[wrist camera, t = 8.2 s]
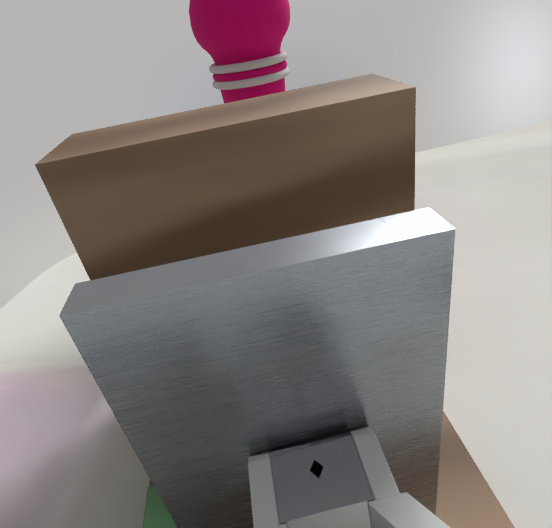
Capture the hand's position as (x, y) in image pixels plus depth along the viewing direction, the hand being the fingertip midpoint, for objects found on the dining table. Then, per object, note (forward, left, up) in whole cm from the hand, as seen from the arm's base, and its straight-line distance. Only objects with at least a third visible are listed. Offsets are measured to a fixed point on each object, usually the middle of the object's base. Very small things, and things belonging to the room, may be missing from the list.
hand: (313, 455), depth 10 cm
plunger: (+5, +4, -5) cm, 8 cm away
